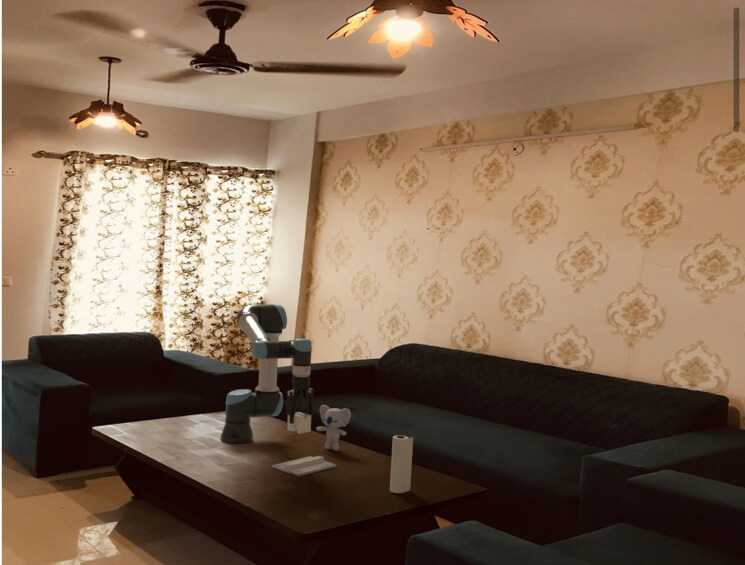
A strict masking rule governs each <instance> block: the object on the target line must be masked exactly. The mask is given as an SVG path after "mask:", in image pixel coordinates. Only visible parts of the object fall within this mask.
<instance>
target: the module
mask: <svg viewBox="0 0 745 565" xmlns="http://www.w3.org/2000/svg"><path fill="white" fill-rule="evenodd" d="M295 416H296V433H297V434H299V435H301V434H306V433H309V432H311V431H312V428H311V426H312V415H311V414H305V413H304V412H300V411H296V412H295ZM289 418H290V416H289V415H288V414H287V428H286V430H287V431H289V432H291V431H290V423H289Z"/></svg>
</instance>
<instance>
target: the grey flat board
mask: <svg viewBox="0 0 745 565" xmlns="http://www.w3.org/2000/svg"><path fill="white" fill-rule="evenodd" d="M336 467H337V464H336V463H332V462H329V461H326V460H325V457H324V456H321V455H316V456H311V455H309V456H305V457H301V458H297V459H292V460H287V461H284V462H281V463H275V464H272V465H271V468H273V469H276V470H278V471H281V472H284V473H285V474H286V473H287V474H290V475H292V476H295V477H303V476H305V475H310V474H314V473H318V472H321V471H325V470H329V469H333V468H336Z"/></svg>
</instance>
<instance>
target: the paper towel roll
mask: <svg viewBox="0 0 745 565" xmlns="http://www.w3.org/2000/svg"><path fill="white" fill-rule="evenodd" d="M391 445H392V447H391V461H390V462H391V463H390V479H389V480H390V481H389V491H390V492H391V493H394V494H403V493H404V494H405V493H407V492H409V491H411V484H412V483H411V481H412V464H413V463H412V461H413V446H414V437H413V436H411V437H409V436H407V435H401V434H400V435H399V434H398V435H397V434H396V435H393V436H392V444H391Z"/></svg>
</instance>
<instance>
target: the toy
mask: <svg viewBox="0 0 745 565" xmlns="http://www.w3.org/2000/svg"><path fill="white" fill-rule="evenodd" d="M319 414H320V418H321V422H322V423H323V424H324V426H317V427H316V428H315V430H316V431H317V432H324V431H325V432H326V433H325V437H326V438H325V439H326V442H325V445H324V448H325V449H326V450H330V449H332V450H333V451H336V452H337V451H339V450H340V444H339V439H340V437H341V436H343V437H344V436H346V435H347V432H346V431H345V430H344V429H341V427H343V428H344V427H346V426H347V424H349V423H350V420H351V419H350V418H351V417H352V412H351V410H350V409H349V408H345V407H344V408H341V409H340V408H336V407H335V408H331V407H329V406H328V405H326V404H321V406H320V407H319Z"/></svg>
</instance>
